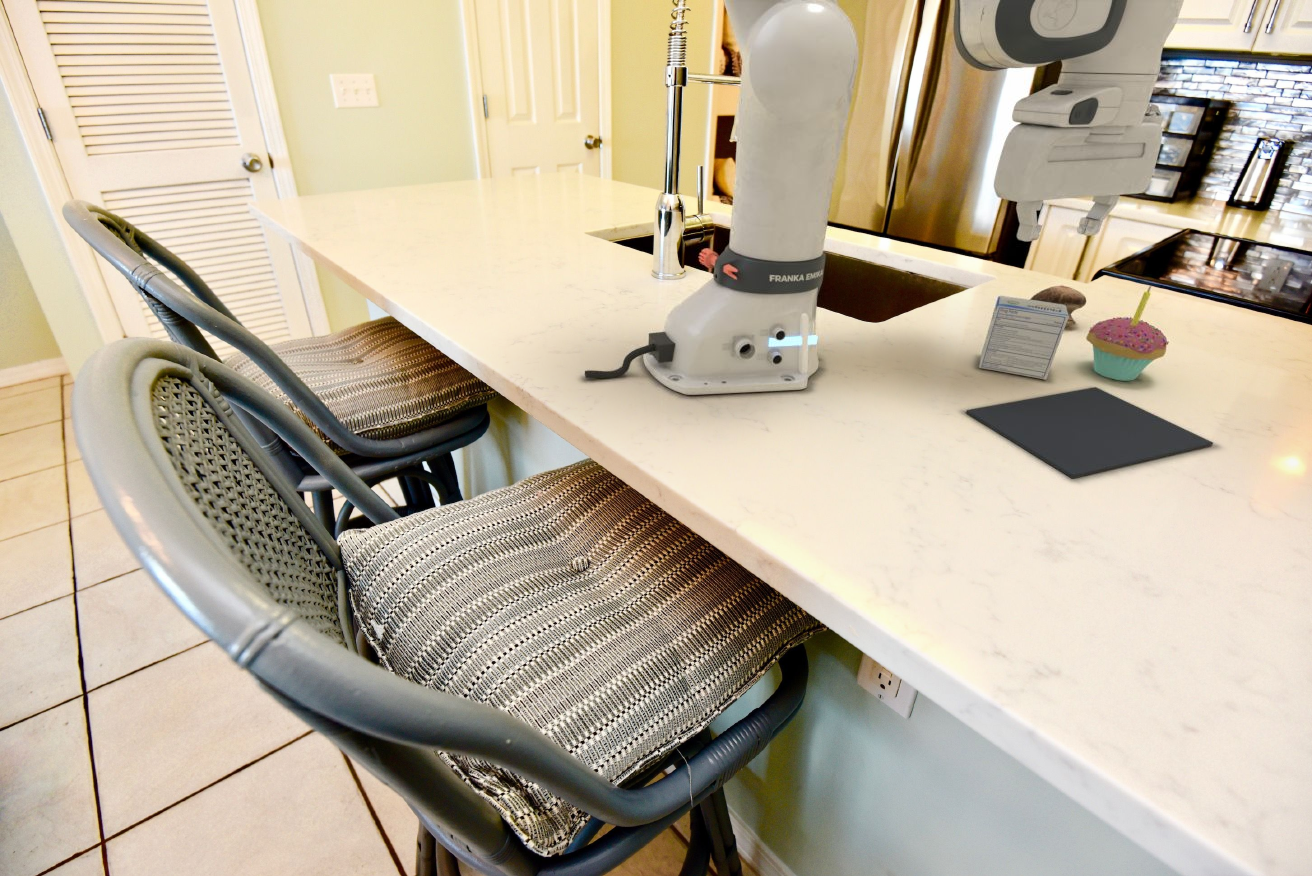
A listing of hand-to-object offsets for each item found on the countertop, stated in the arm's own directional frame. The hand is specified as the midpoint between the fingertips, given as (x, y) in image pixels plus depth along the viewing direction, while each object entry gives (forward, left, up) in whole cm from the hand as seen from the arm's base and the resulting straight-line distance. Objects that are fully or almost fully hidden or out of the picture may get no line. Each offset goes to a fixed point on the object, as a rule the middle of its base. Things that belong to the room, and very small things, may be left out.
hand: (1057, 237), depth 77 cm
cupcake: (+12, -5, -17) cm, 21 cm away
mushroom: (+20, +12, -17) cm, 29 cm away
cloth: (-5, -15, -17) cm, 23 cm away
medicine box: (0, 0, -17) cm, 17 cm away
